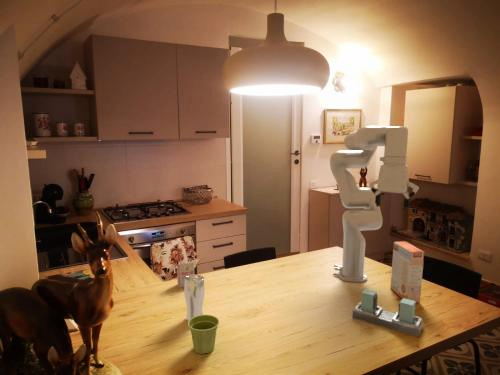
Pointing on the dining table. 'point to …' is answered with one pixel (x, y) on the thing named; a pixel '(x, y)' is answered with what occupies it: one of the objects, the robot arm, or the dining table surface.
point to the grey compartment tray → (388, 320)
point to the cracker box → (407, 271)
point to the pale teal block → (406, 310)
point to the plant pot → (203, 332)
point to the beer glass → (194, 295)
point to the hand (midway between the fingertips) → (391, 207)
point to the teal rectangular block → (369, 300)
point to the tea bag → (184, 272)
